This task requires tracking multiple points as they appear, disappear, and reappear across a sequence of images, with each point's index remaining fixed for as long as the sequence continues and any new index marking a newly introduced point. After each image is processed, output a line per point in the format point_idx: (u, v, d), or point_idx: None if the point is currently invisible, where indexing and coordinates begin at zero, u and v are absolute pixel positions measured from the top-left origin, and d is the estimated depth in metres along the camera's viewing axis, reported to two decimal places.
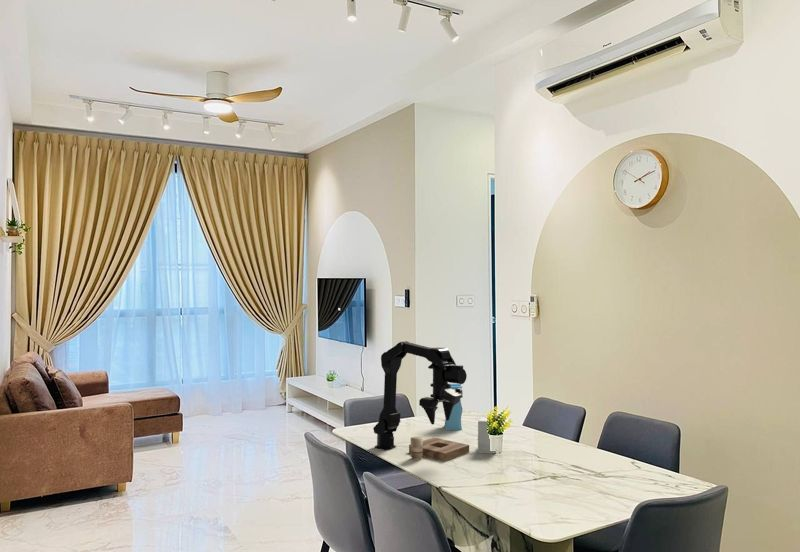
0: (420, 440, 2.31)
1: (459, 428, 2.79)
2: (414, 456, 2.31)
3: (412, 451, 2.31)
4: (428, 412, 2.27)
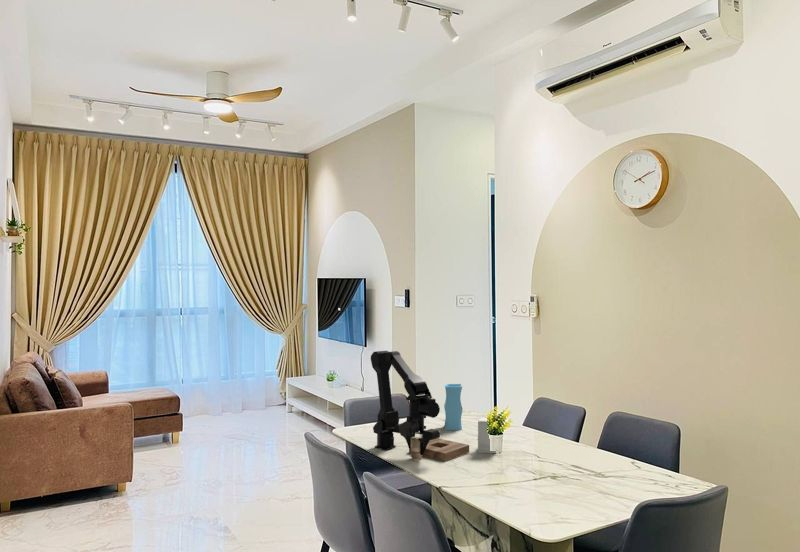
0: None
1: (459, 428, 2.79)
2: (414, 456, 2.31)
3: (412, 451, 2.31)
4: None
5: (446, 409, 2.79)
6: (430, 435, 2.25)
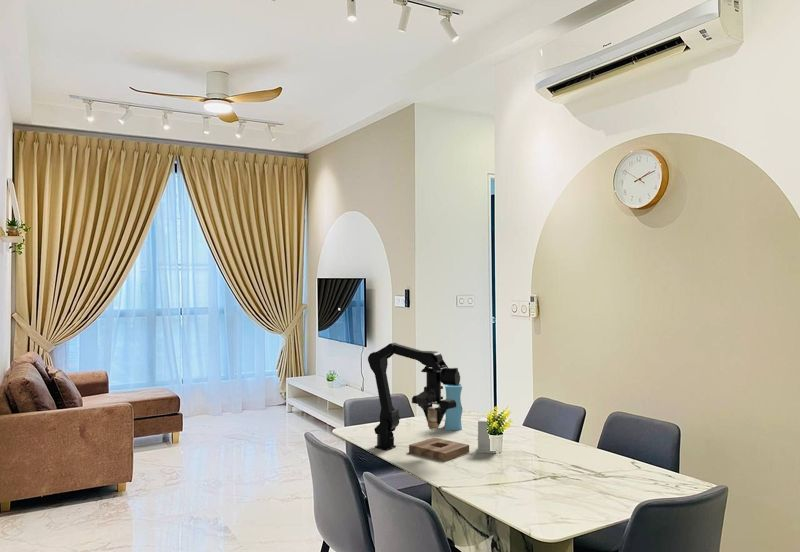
0: None
1: (459, 428, 2.79)
2: (431, 425, 2.37)
3: (429, 421, 2.38)
4: None
5: None
6: (446, 404, 2.31)
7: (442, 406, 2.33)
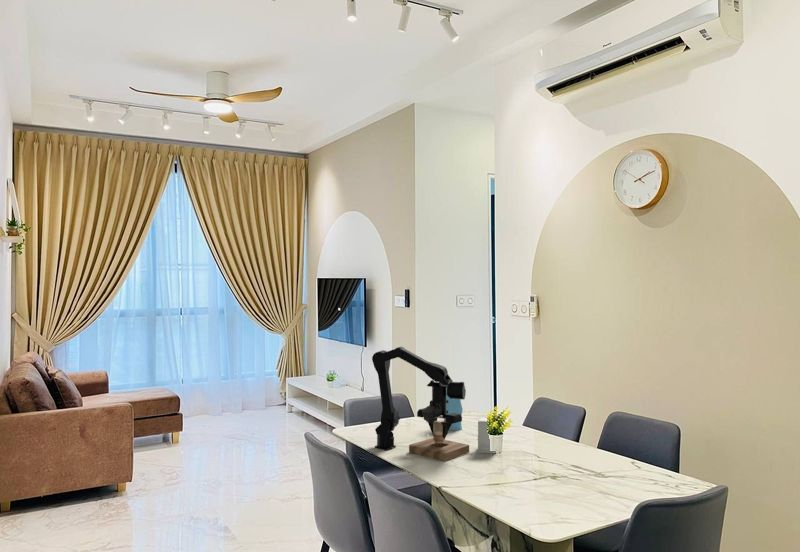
0: None
1: (459, 428, 2.79)
2: (437, 439, 2.40)
3: (435, 434, 2.40)
4: None
5: (446, 409, 2.79)
6: (452, 419, 2.34)
7: (448, 420, 2.35)
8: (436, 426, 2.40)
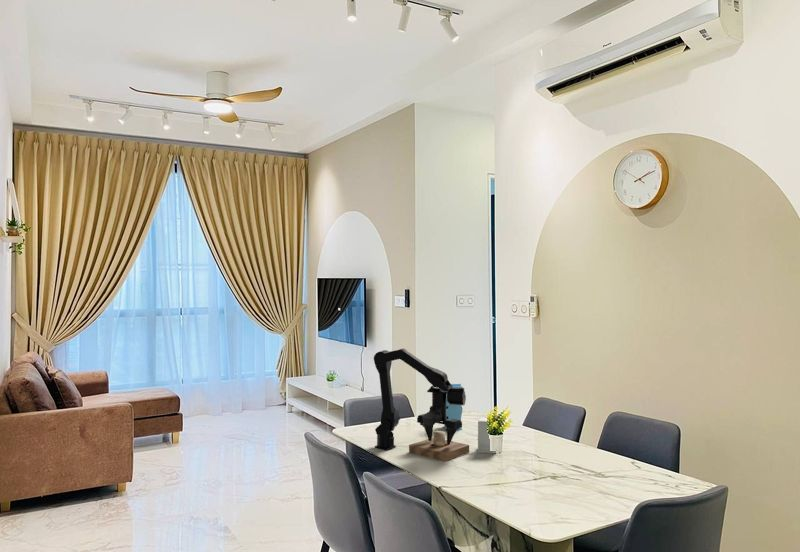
0: (443, 434, 2.40)
1: (459, 428, 2.79)
2: None
3: (435, 444, 2.40)
4: None
5: (446, 409, 2.79)
6: (452, 425, 2.34)
7: (448, 426, 2.35)
8: (436, 436, 2.40)
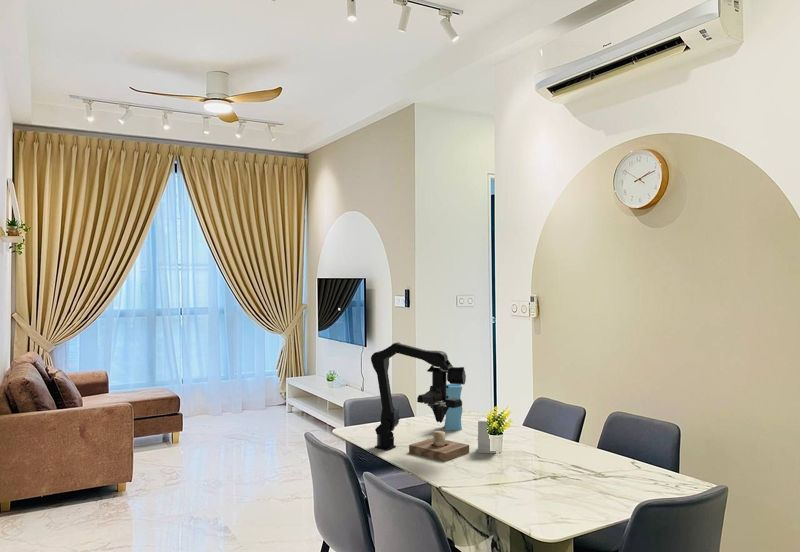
0: (443, 434, 2.40)
1: (459, 428, 2.79)
2: None
3: (435, 445, 2.40)
4: None
5: None
6: (453, 403, 2.34)
7: (448, 405, 2.35)
8: (436, 436, 2.40)
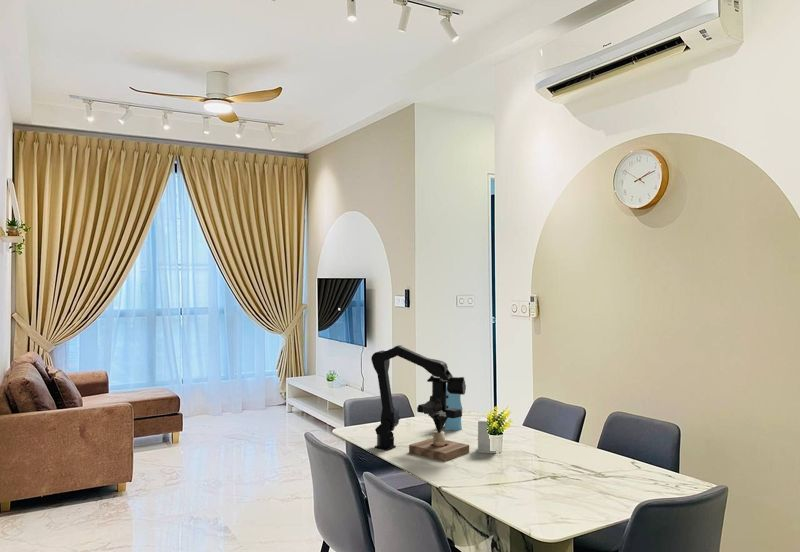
0: (442, 434, 2.40)
1: (459, 428, 2.79)
2: None
3: (435, 445, 2.40)
4: None
5: None
6: (452, 414, 2.34)
7: (448, 415, 2.35)
8: (436, 436, 2.40)
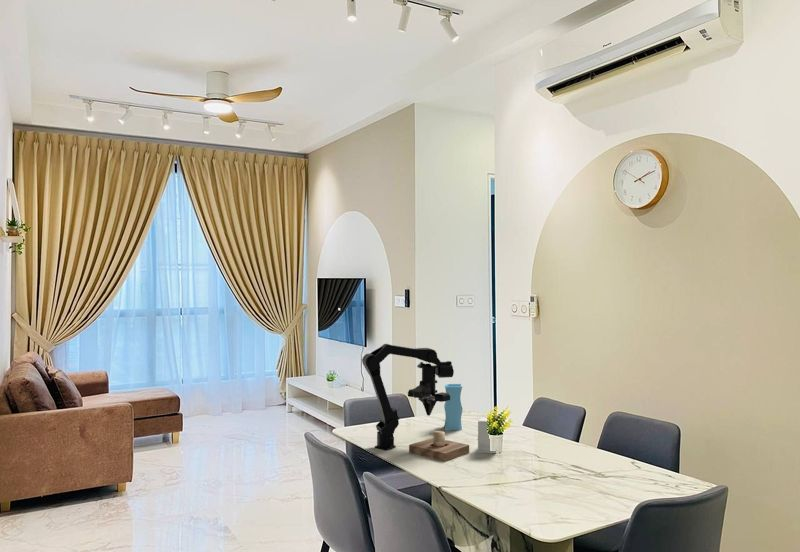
0: (442, 434, 2.40)
1: (459, 428, 2.79)
2: None
3: (435, 445, 2.40)
4: None
5: (446, 409, 2.79)
6: (441, 397, 2.47)
7: (437, 399, 2.48)
8: (436, 436, 2.40)
